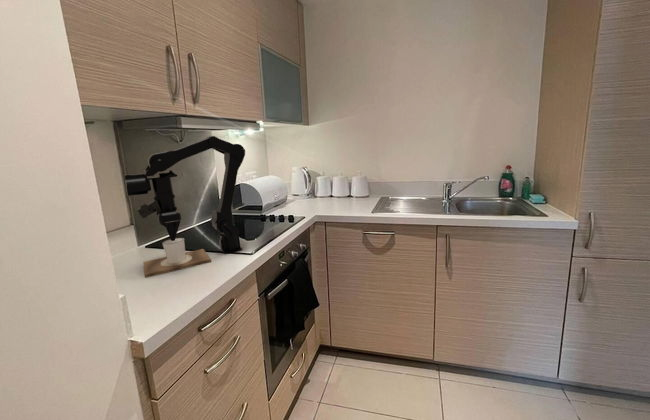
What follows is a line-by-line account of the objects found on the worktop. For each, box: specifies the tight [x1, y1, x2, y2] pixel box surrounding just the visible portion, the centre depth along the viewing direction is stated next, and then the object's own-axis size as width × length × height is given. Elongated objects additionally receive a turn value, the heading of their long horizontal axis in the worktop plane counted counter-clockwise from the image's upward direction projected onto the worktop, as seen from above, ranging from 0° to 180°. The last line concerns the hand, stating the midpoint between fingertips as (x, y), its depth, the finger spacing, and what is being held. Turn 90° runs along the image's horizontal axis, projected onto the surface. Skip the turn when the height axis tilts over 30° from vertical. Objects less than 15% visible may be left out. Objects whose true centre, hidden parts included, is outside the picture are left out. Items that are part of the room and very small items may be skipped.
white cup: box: [161, 237, 186, 263], centre depth 111 cm, size 7×7×7 cm
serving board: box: [142, 248, 212, 279], centre depth 112 cm, size 20×14×1 cm
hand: (171, 237), depth 110 cm, fingers open, 9 cm apart
